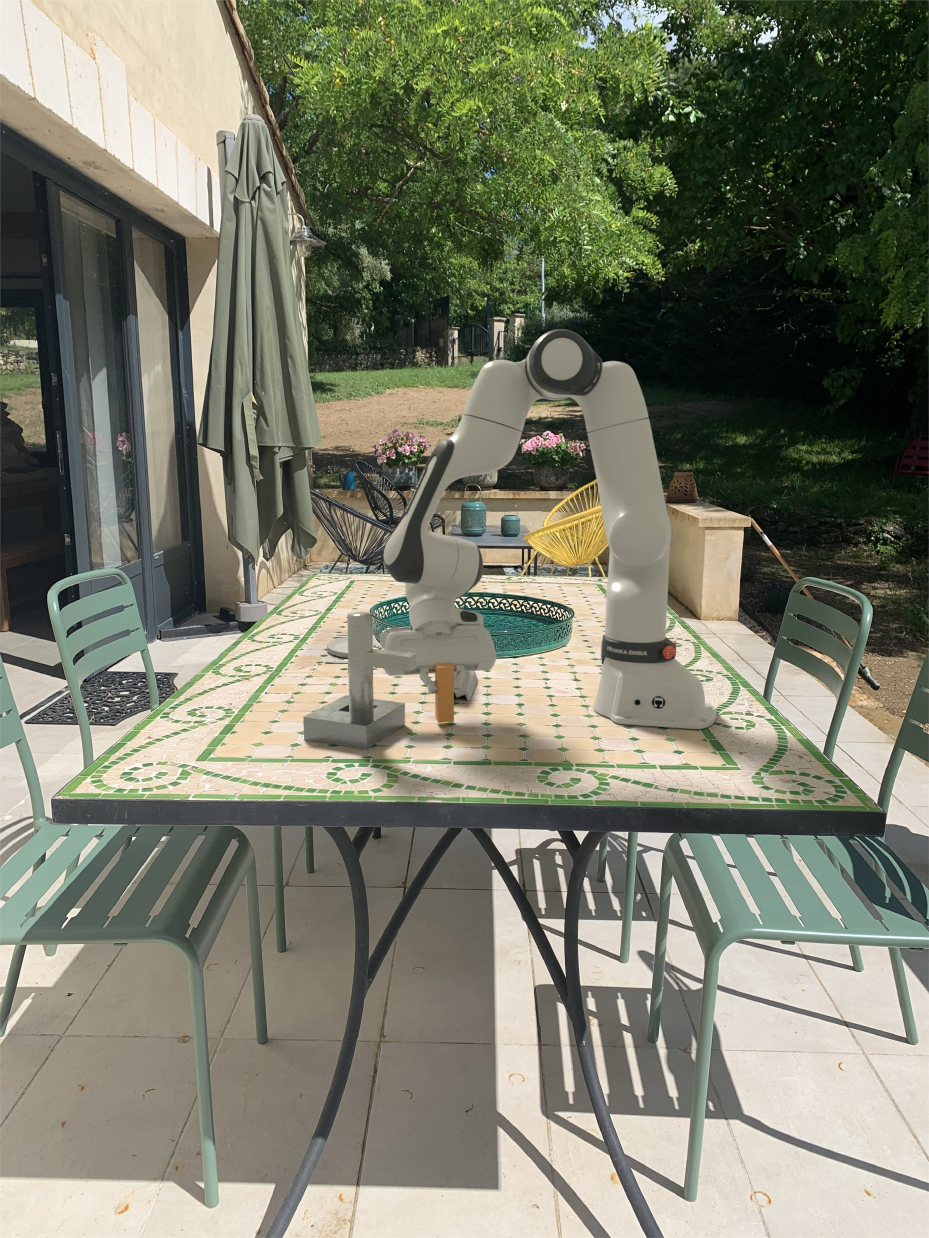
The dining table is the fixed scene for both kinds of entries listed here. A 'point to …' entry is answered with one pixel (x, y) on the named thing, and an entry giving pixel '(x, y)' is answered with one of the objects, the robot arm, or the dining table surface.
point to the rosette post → (360, 694)
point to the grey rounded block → (467, 684)
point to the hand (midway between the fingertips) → (445, 691)
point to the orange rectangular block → (444, 692)
